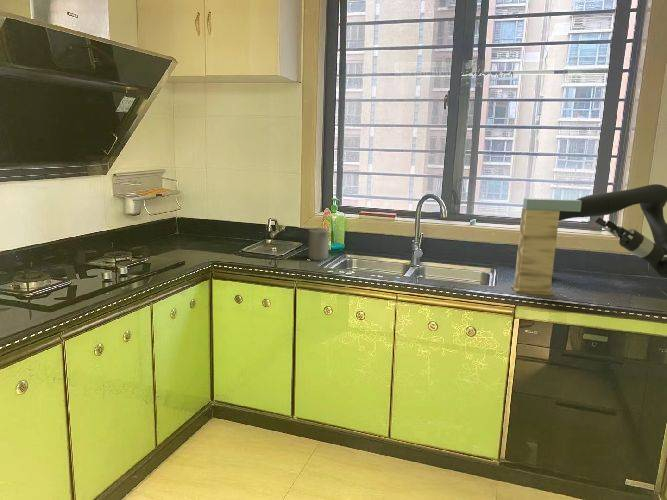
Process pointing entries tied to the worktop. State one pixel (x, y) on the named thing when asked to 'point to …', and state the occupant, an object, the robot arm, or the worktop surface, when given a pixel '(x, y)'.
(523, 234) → the oak block
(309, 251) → the pillar candle
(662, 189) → the robot arm
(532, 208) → the slate bar
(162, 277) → the worktop surface
